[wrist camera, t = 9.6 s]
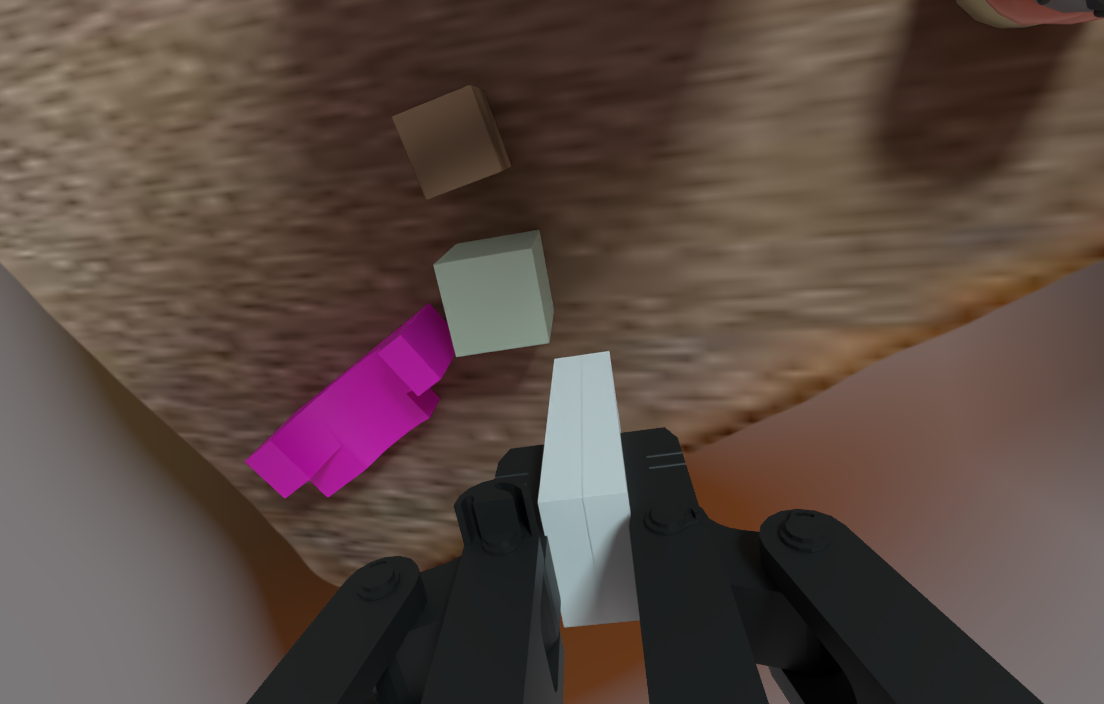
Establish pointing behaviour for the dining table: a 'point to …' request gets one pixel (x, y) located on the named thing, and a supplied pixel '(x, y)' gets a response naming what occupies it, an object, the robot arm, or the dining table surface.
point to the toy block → (360, 410)
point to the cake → (1032, 12)
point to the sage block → (496, 293)
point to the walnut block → (452, 141)
